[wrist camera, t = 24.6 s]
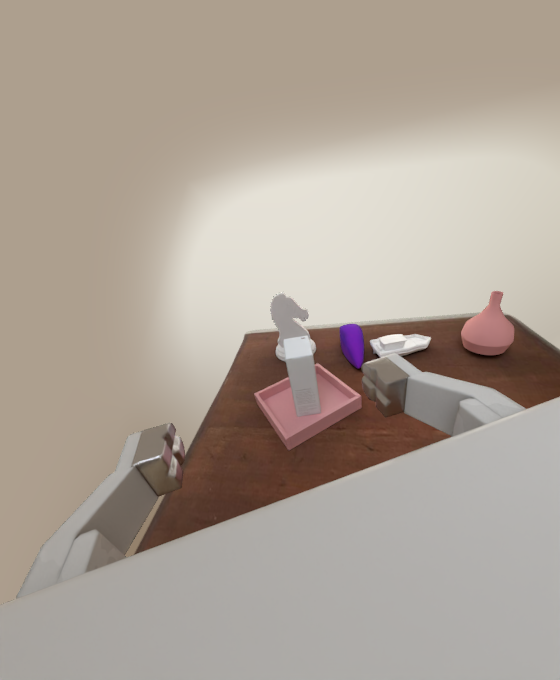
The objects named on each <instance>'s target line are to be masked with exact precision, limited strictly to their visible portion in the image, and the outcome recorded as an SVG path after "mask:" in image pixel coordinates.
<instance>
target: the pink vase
mask: <svg viewBox="0 0 560 680" xmlns="http://www.w3.org/2000/svg"><path fill="white" fill-rule="evenodd" d="M502 296H503V292H499V291H494V292H492V293H491V297H490V302H489V305H488V306H487V307H486V308H485V309H484V310H483V311H482V312H481V313H480V314H478V315H476V316H475V317H473V318H471V319H469V320H468V321H467V322H466V323H465V325H464V327H463V330H462V332H461V336H462V342H463V345H464V347H465V348H466V349H468V350H469V351H472V352H474V353H477V354H482V355H499V354H502V353H504V352H505V351H506V349H507V348H508V347H509V346H510V345H511V343H512V342H513V341H514V327H513V325H512V324H511V323H510V322H509V321H508V320H507V319H506V318H505V317H504V315H503V312H502V310H501V308H500V303H501V299H502Z"/></svg>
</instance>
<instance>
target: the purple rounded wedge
mask: <svg viewBox="0 0 560 680" xmlns="http://www.w3.org/2000/svg"><path fill="white" fill-rule="evenodd" d="M340 341H341V348H342V351H343V354H344V355H345V357H346V358H347V360H348V361H349V362H350V363H351V364H352V365H353V366H355V367H356V368H358V369H359V368H360V367H361V366H362V364H363V359H364V339H363V333H362V330H361V328H360V327H359V326H358V325H357V324H347V325H343V326H341V327H340Z"/></svg>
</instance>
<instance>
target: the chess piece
mask: <svg viewBox="0 0 560 680" xmlns="http://www.w3.org/2000/svg"><path fill="white" fill-rule="evenodd" d="M271 315H272V320H274V323H275V325H276V327H277V328H278V330H279V334H280V337H279V339H278V346H277V347H276V356H277V357H278V358H279V359H280V360H282V361H285V362H286V360H285V351H284V341H283V340H284V339H289V338H295V337H301V336H308V337H309V341H310V344H311V349H312V353H313V354H314V353H315V351H316V345H315V343H314V341H313V340H311V339H310V335H309V332H308V331H307V330H306V329H305V328H304V327H303V326H301V325H300V324H299V323H298V322H296V321H295V320H294V319H293V318H299V319H301V320H302V321H306V319H308V312H307V309H306V308H301V307H300V306H299V305H298V304H297V303H296V302H295V300H294V299H293V298H292V297H290V296H285V293H284V292H282V293H279V294H276V295H275V296H274V297H273V299H272V302H271ZM305 318H306V319H305Z"/></svg>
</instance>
